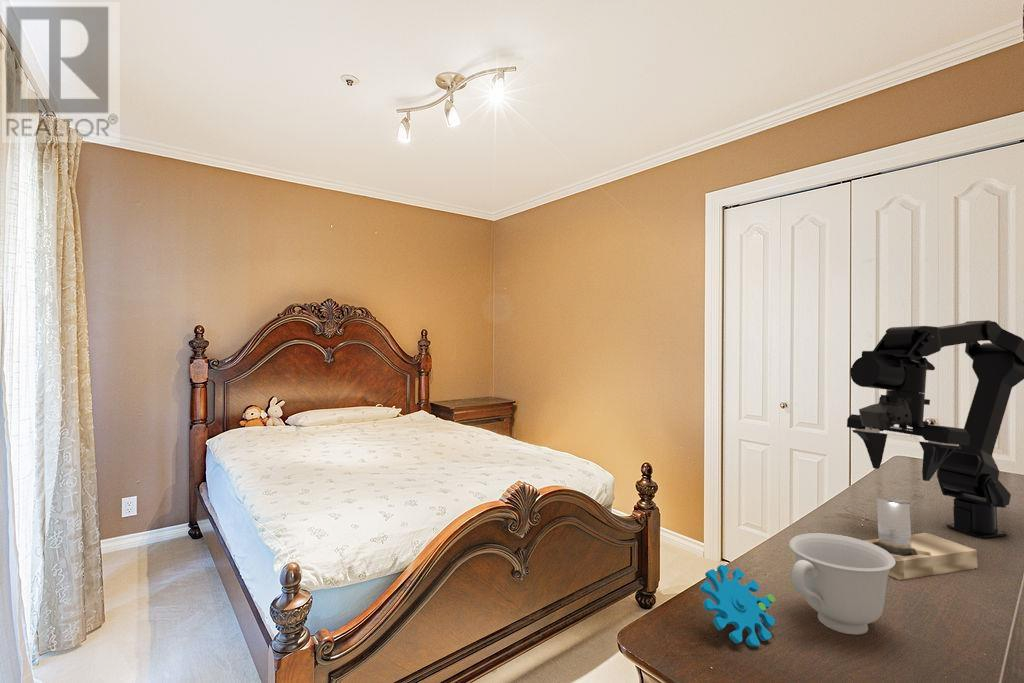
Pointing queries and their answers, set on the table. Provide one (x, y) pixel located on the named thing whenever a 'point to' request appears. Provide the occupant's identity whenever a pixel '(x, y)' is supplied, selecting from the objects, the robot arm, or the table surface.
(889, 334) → the robot arm
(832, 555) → the teacup
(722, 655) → the table surface
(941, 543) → the jig
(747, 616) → the gear
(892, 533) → the translucent cylinder
